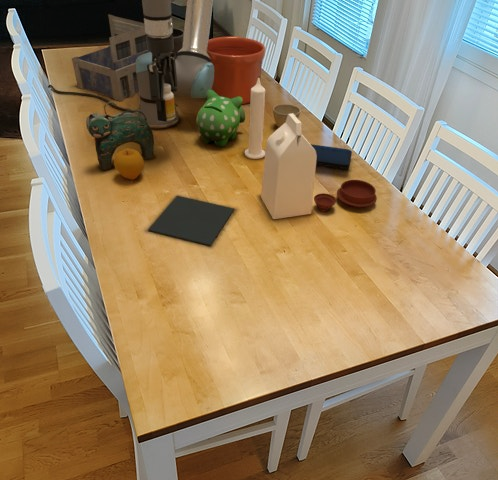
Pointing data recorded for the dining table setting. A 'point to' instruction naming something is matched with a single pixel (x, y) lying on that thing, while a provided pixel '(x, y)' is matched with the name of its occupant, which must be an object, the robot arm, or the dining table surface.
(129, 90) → the building
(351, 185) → the pottery
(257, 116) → the candle
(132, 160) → the apple
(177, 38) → the planter
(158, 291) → the dining table surface
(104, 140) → the ceramic cat
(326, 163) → the game console
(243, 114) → the piggy bank
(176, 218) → the mat
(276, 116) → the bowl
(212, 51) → the pot
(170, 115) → the supplement bottle
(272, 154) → the milk
